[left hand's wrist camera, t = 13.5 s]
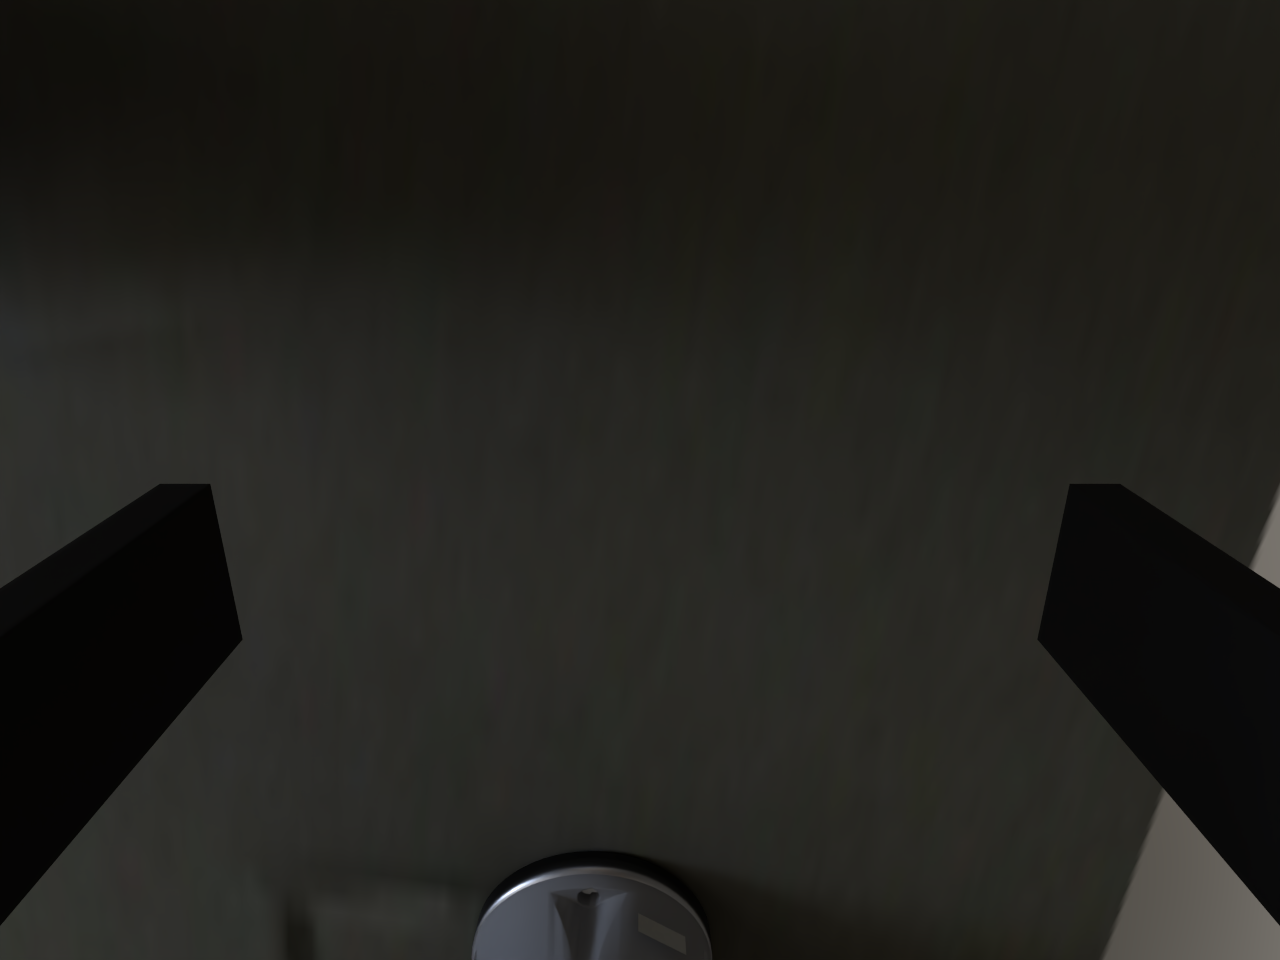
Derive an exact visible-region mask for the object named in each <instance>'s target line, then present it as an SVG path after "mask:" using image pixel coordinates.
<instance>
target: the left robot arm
mask: <svg viewBox="0 0 1280 960" xmlns="http://www.w3.org/2000/svg"><path fill="white" fill-rule="evenodd" d="M241 641H242V635H241V630H240V625H239V620H238V615H237V611H236V606H235V601H234V596H233V591H232V587H231V582H230V577H229V572H228V567H227V562H226V558H225V553H224V548H223V543H222V538H221V534H220V529H219V524H218V519H217V514H216V510H215V505H214V500H213V495H212V490H211V486H210V484H159V485H158V486H156V487H155V488H153V489H152V490H150V491H149V492H147V493H145V494H144V495H142V496H141V497H139V498H138V499H136V500H135V501H133V502H132V503H130V504H129V505H127V506H126V507H124V508H123V509H121V510H119V511H118V512H116V513H115V514H113V515H112V516H110V517H109V518H107V519H106V520H104V521H103V522H101V523H100V524H98V525H97V526H95V527H93V528H92V529H90V530H89V531H87V532H86V533H84V534H83V535H81V536H80V537H78V538H77V539H75V540H74V541H72V542H71V543H69V544H68V545H66V546H64V547H63V548H61V549H60V550H58V551H57V552H55V553H54V554H52V555H51V556H49V557H48V558H46V559H45V560H43V561H42V562H40V563H38V564H37V565H35V566H34V567H32V568H31V569H29V570H28V571H26V572H25V573H23V574H22V575H20V576H19V577H17V578H16V579H14V580H13V581H11V582H9V583H8V584H6V585H5V586H3V587H2V588H0V925H1V924H2V923H3V922H4V921H5V919H6V918H7V917H8V916H9V915H10V913H11V912H12V911H13V910H14V909H15V908H16V906H17V905H18V904H19V903H20V902H21V900H22V899H23V898H24V897H25V896H26V895H27V893H28V892H29V891H30V890H31V889H32V887H33V886H34V885H35V884H36V883H37V882H38V880H39V879H40V878H41V877H42V876H43V874H44V873H45V872H46V871H47V870H48V869H49V867H50V866H51V865H52V864H53V863H54V861H55V860H56V859H57V858H58V857H59V856H60V854H61V853H62V852H63V851H64V850H65V848H66V847H67V846H68V845H69V844H70V843H71V841H72V840H73V839H74V838H75V837H76V835H77V834H78V833H79V832H80V831H81V830H82V828H83V827H84V826H85V825H86V824H87V823H88V821H89V820H90V819H91V818H92V817H93V815H94V814H95V813H96V812H97V811H98V810H99V808H100V807H101V806H102V805H103V804H104V802H105V801H106V800H107V799H108V798H109V797H110V795H111V794H112V793H113V792H114V791H115V789H116V788H117V787H118V786H119V785H120V784H121V782H122V781H123V780H124V779H125V778H126V776H127V775H128V774H129V773H130V772H131V771H132V769H133V768H134V767H135V766H136V765H137V763H138V762H139V761H140V760H141V759H142V758H143V756H144V755H145V754H146V753H147V752H148V750H149V749H150V748H151V747H152V746H153V745H154V743H155V742H156V741H157V740H158V739H159V737H160V736H161V735H162V734H163V733H164V732H165V730H166V729H167V728H168V727H169V726H170V724H171V723H172V722H173V721H174V720H175V719H176V717H177V716H178V715H179V714H180V713H181V711H182V710H183V709H184V708H185V707H186V706H187V704H188V703H189V702H190V701H191V700H192V698H193V697H194V696H195V695H196V694H197V693H198V691H199V690H200V689H201V688H202V687H203V685H204V684H205V683H206V682H207V681H208V680H209V678H210V677H211V676H212V675H213V674H214V672H215V671H216V670H217V669H218V668H219V667H220V665H221V664H222V663H223V662H224V661H225V659H226V658H227V657H228V656H229V655H230V654H231V652H232V651H233V650H234V649H235V648H236V646H237V645H238V644H239V643H240V642H241ZM1038 641H1039V642H1040V643H1041V644H1042V645H1043V646H1044V648H1045V649H1046V650H1047V651H1048V652H1049V654H1050V655H1051V656H1052V657H1053V658H1054V659H1055V661H1056V662H1057V663H1058V664H1059V665H1060V667H1061V668H1062V669H1063V670H1064V671H1065V672H1066V674H1067V675H1068V676H1069V677H1070V678H1071V680H1072V681H1073V682H1074V683H1075V684H1076V685H1077V687H1078V688H1079V689H1080V690H1081V691H1082V693H1083V694H1084V695H1085V696H1086V697H1087V698H1088V700H1089V701H1090V702H1091V703H1092V704H1093V706H1094V707H1095V708H1096V709H1097V710H1098V711H1099V713H1100V714H1101V715H1102V716H1103V717H1104V719H1105V720H1106V721H1107V722H1108V723H1109V724H1110V726H1111V727H1112V728H1113V729H1114V730H1115V732H1116V733H1117V734H1118V735H1119V736H1120V737H1121V739H1122V740H1123V741H1124V742H1125V743H1126V745H1127V746H1128V747H1129V748H1130V749H1131V750H1132V752H1133V753H1134V754H1135V755H1136V756H1137V758H1138V759H1139V760H1140V761H1141V762H1142V763H1143V765H1144V766H1145V767H1146V768H1147V769H1148V771H1149V772H1150V773H1151V774H1152V775H1153V776H1154V778H1155V779H1156V780H1157V781H1158V782H1159V784H1160V785H1161V786H1162V787H1163V788H1164V789H1165V791H1166V792H1167V793H1168V794H1169V795H1170V796H1171V798H1172V799H1173V800H1174V801H1175V802H1176V804H1177V805H1178V806H1179V807H1180V808H1181V809H1182V811H1183V812H1184V813H1185V814H1186V815H1187V817H1188V818H1189V819H1190V820H1191V821H1192V823H1193V824H1194V825H1195V826H1196V827H1197V828H1198V830H1199V831H1200V832H1201V833H1202V834H1203V835H1204V837H1205V838H1206V839H1207V840H1208V841H1209V843H1210V844H1211V845H1212V846H1213V847H1214V848H1215V850H1216V851H1217V852H1218V853H1219V854H1220V856H1221V857H1222V858H1223V859H1224V860H1225V861H1226V863H1227V864H1228V865H1229V866H1230V867H1231V869H1232V870H1233V871H1234V872H1235V873H1236V874H1237V876H1238V877H1239V878H1240V879H1241V880H1242V881H1243V883H1244V884H1245V885H1246V886H1247V887H1248V889H1249V890H1250V891H1251V892H1252V893H1253V895H1254V896H1255V897H1256V898H1257V899H1258V900H1259V902H1260V903H1261V904H1262V905H1263V906H1264V908H1265V909H1266V910H1267V911H1268V912H1269V913H1270V915H1271V916H1272V917H1273V918H1274V919H1275V921H1276V922H1277V923H1278V924H1279V925H1280V588H1278V587H1277V586H1275V585H1274V584H1272V583H1271V582H1269V581H1267V580H1266V579H1264V578H1263V577H1261V576H1260V575H1258V574H1257V573H1255V572H1254V571H1252V570H1251V569H1249V568H1248V567H1246V566H1245V565H1243V564H1242V563H1240V562H1238V561H1237V560H1235V559H1234V558H1232V557H1231V556H1229V555H1228V554H1226V553H1225V552H1223V551H1222V550H1220V549H1219V548H1217V547H1216V546H1214V545H1212V544H1211V543H1209V542H1208V541H1206V540H1205V539H1203V538H1202V537H1200V536H1199V535H1197V534H1196V533H1194V532H1193V531H1191V530H1190V529H1188V528H1187V527H1185V526H1183V525H1182V524H1180V523H1179V522H1177V521H1176V520H1174V519H1173V518H1171V517H1170V516H1168V515H1167V514H1165V513H1164V512H1162V511H1161V510H1159V509H1157V508H1156V507H1154V506H1153V505H1151V504H1150V503H1148V502H1147V501H1145V500H1144V499H1142V498H1141V497H1139V496H1138V495H1136V494H1135V493H1133V492H1131V491H1130V490H1128V489H1127V488H1125V487H1124V486H1122V485H1121V484H1070V486H1069V490H1068V495H1067V500H1066V505H1065V510H1064V514H1063V519H1062V524H1061V529H1060V534H1059V538H1058V543H1057V548H1056V553H1055V558H1054V562H1053V567H1052V572H1051V577H1050V582H1049V587H1048V591H1047V596H1046V601H1045V606H1044V611H1043V615H1042V620H1041V625H1040V630H1039V635H1038ZM472 960H712V949H711V939H710V930H709V924H708V920H707V917H706V914H705V912H704V910H703V908H702V906H701V904H700V903H699V901H698V900H697V898H696V897H695V896H694V894H693V893H692V892H691V891H690V890H689V889H688V888H687V887H686V886H685V885H684V884H683V883H682V882H681V881H679V880H678V879H677V878H676V877H674V876H673V875H671V874H670V873H668V872H667V871H665V870H663V869H661V868H660V867H657V866H655V865H653V864H651V863H649V862H646V861H643V860H640V859H637V858H634V857H630V856H626V855H621V854H616V853H608V852H574V853H566V854H561V855H556V856H552V857H548V858H545V859H542V860H539V861H536V862H534V863H532V864H529V865H527V866H525V867H523V868H521V869H520V870H518V871H516V872H515V873H513V874H512V875H510V876H509V877H508V878H506V879H505V880H504V881H503V882H502V883H501V884H499V885H498V886H497V888H496V889H495V890H494V891H493V892H492V893H491V895H490V896H489V897H488V899H487V900H486V902H485V904H484V906H483V908H482V910H481V913H480V915H479V919H478V923H477V928H476V933H475V937H474V942H473V946H472Z"/></svg>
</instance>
